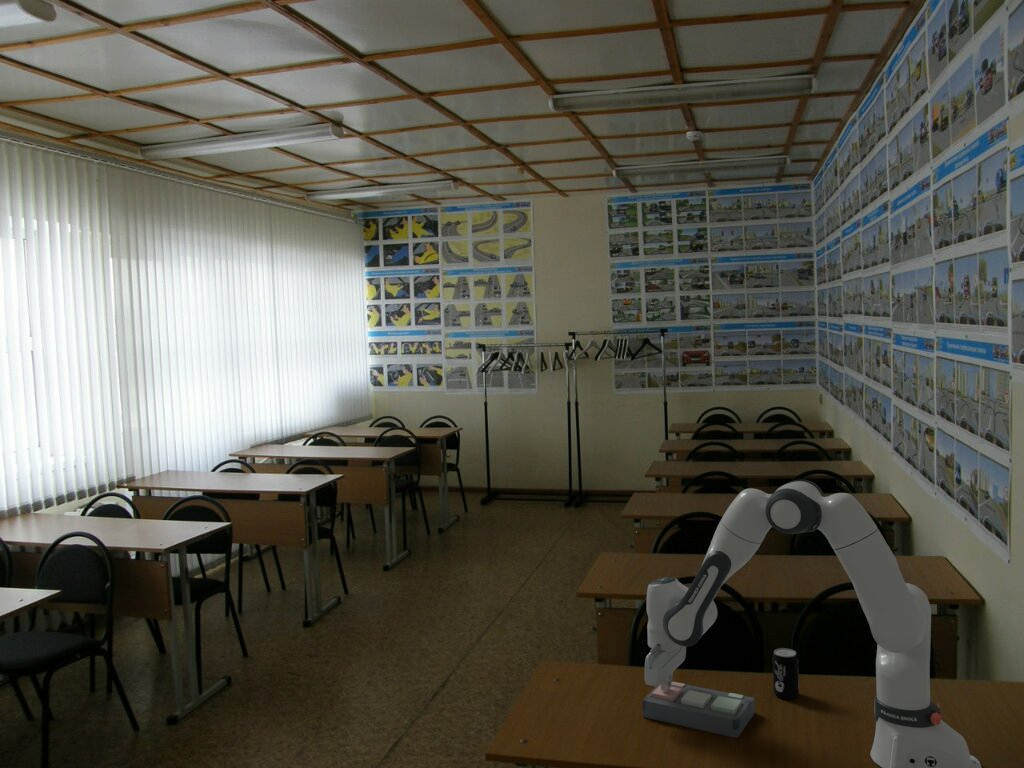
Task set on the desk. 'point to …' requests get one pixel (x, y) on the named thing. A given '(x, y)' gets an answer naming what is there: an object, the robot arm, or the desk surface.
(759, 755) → the desk surface
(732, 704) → the sage key
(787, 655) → the beverage can
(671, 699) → the rose key
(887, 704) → the robot arm
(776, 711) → the desk surface
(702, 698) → the ivory key
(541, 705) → the desk surface
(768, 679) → the desk surface
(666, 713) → the keypad
